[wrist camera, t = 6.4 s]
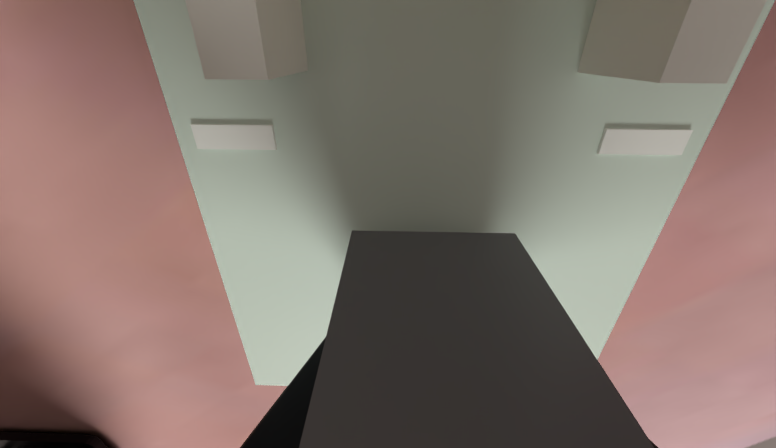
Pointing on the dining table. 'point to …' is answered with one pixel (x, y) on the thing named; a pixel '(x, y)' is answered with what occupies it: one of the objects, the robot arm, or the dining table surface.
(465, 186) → the board
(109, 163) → the dining table surface
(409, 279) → the plug
